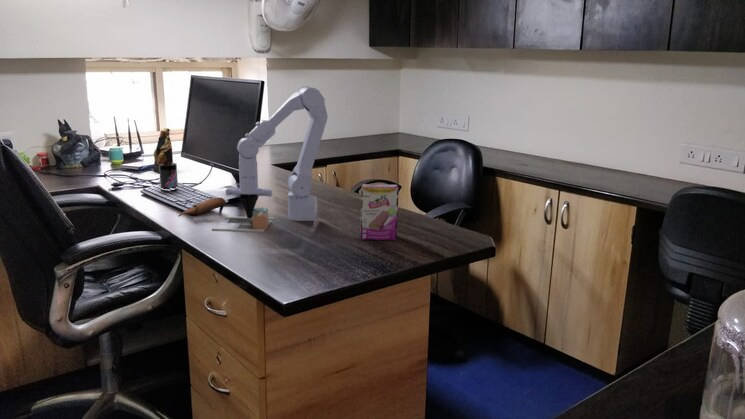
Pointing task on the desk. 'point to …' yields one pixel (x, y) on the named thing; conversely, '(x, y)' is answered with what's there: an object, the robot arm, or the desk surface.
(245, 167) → the robot arm
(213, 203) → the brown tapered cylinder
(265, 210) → the teal handled block
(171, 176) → the supplement container
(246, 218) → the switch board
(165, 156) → the statue
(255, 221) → the orange block with handle
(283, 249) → the desk surface
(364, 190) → the candy bar box
